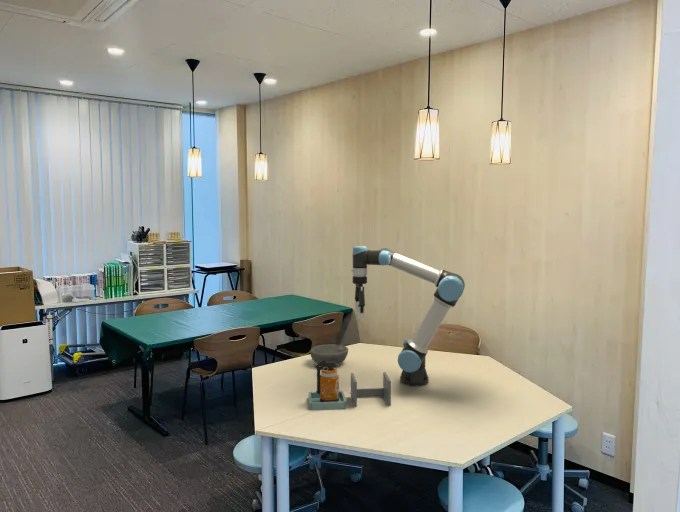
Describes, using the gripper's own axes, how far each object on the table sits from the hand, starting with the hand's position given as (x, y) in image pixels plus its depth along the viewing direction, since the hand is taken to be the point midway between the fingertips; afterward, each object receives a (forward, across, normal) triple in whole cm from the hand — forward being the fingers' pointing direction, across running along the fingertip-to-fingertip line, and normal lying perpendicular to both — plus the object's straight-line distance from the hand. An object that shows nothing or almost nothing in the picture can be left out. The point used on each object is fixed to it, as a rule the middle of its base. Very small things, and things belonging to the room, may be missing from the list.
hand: (359, 316), depth 277 cm
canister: (+36, +24, -19) cm, 48 cm away
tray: (+37, +25, -19) cm, 48 cm away
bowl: (+37, -38, -13) cm, 55 cm away
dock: (+37, +25, +2) cm, 44 cm away
